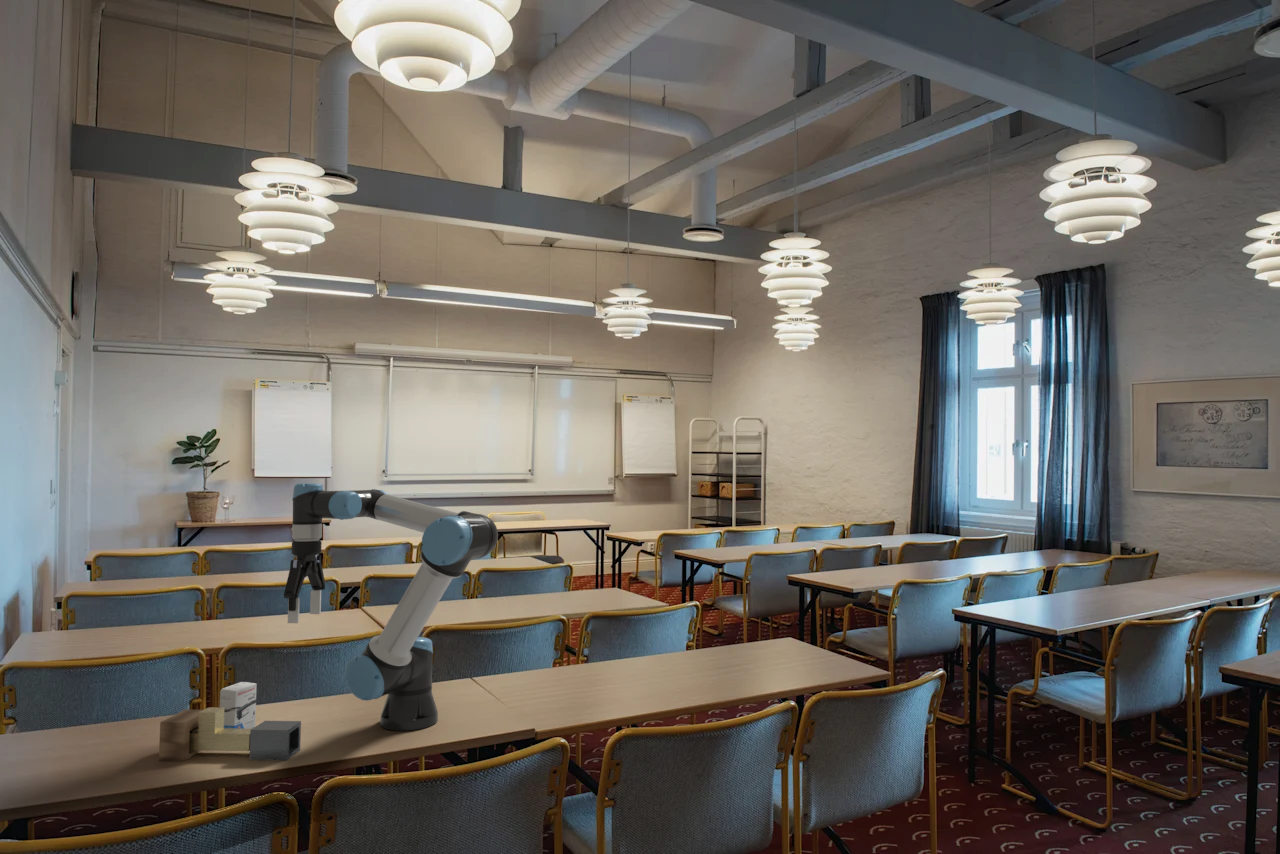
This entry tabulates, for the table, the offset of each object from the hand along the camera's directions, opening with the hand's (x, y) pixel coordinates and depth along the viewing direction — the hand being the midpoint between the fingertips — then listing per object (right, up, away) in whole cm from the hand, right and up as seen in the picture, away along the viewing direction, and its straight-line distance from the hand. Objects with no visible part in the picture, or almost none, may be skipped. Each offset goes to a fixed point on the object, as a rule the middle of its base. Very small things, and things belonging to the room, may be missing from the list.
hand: (304, 618), depth 216 cm
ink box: (-15, -29, -6) cm, 33 cm away
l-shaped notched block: (-11, -26, -23) cm, 36 cm away
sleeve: (+3, -27, -24) cm, 36 cm away
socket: (-20, -27, -23) cm, 41 cm away
